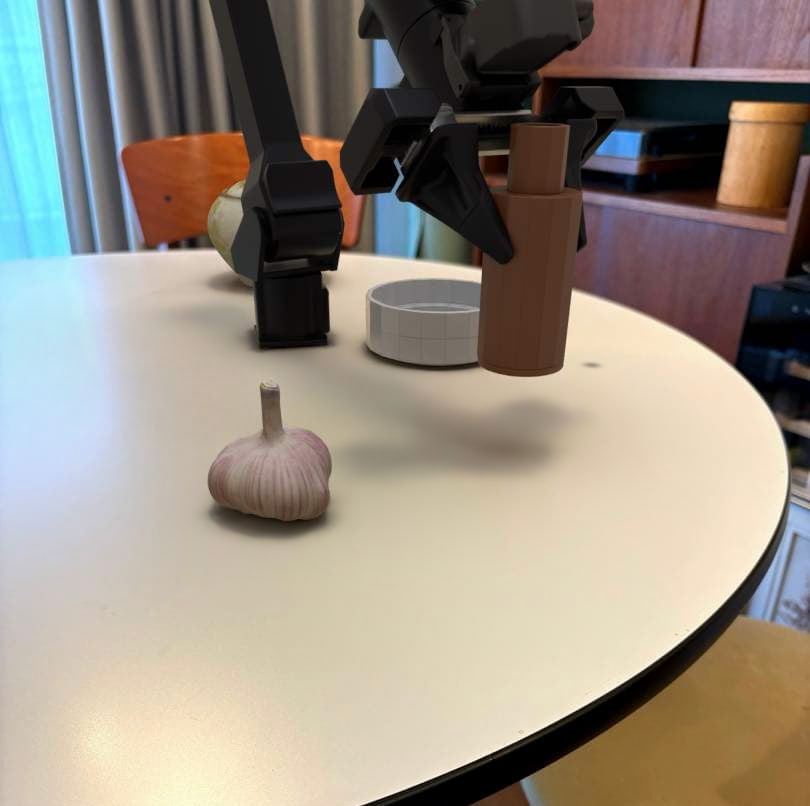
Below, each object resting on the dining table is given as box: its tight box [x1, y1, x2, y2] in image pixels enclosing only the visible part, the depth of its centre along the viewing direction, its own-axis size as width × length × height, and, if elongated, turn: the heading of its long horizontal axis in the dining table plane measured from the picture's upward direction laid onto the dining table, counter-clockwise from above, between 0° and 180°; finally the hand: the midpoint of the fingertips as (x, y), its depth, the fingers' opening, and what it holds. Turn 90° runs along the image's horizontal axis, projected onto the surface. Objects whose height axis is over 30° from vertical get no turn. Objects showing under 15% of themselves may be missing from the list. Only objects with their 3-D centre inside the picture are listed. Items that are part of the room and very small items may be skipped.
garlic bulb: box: [207, 380, 333, 522], centre depth 48 cm, size 8×7×8 cm
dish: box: [365, 277, 481, 367], centre depth 76 cm, size 13×13×5 cm
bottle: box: [477, 123, 584, 378], centre depth 51 cm, size 6×6×14 cm
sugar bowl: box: [206, 179, 253, 288], centre depth 97 cm, size 20×15×15 cm
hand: (545, 254), depth 50 cm, fingers closed on bottle, 6 cm apart
